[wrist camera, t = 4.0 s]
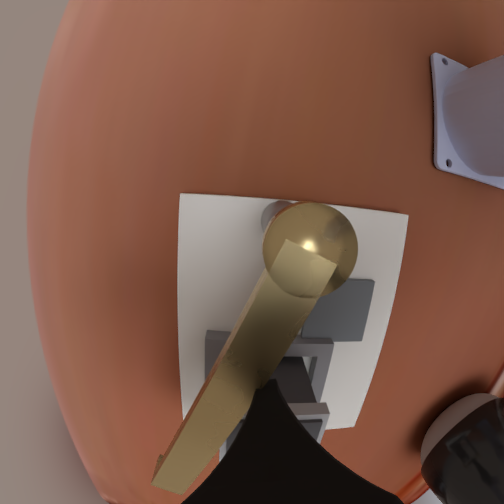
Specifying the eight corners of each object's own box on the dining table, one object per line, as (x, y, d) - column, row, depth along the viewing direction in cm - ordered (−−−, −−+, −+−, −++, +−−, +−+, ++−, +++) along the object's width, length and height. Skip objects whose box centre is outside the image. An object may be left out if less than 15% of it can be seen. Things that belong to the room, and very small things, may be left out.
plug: (307, 351, 16) (331, 416, 11) (295, 409, 17) (309, 474, 12) (226, 348, 16) (219, 416, 11) (223, 407, 17) (219, 474, 12)
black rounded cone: (388, 462, 21) (438, 579, 6) (439, 380, 18) (540, 507, 4) (456, 447, 21) (512, 533, 7) (503, 373, 19) (587, 455, 4)
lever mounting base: (400, 213, 15) (478, 233, 9) (350, 417, 19) (377, 485, 12) (184, 193, 15) (139, 200, 8) (185, 416, 18) (169, 491, 12)
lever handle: (351, 222, 9) (373, 230, 8) (195, 472, 12) (191, 497, 10) (282, 185, 9) (291, 184, 7) (148, 455, 12) (140, 480, 10)
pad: (372, 279, 15) (374, 281, 15) (359, 338, 16) (361, 341, 16) (309, 276, 15) (310, 278, 15) (299, 338, 16) (301, 341, 15)
